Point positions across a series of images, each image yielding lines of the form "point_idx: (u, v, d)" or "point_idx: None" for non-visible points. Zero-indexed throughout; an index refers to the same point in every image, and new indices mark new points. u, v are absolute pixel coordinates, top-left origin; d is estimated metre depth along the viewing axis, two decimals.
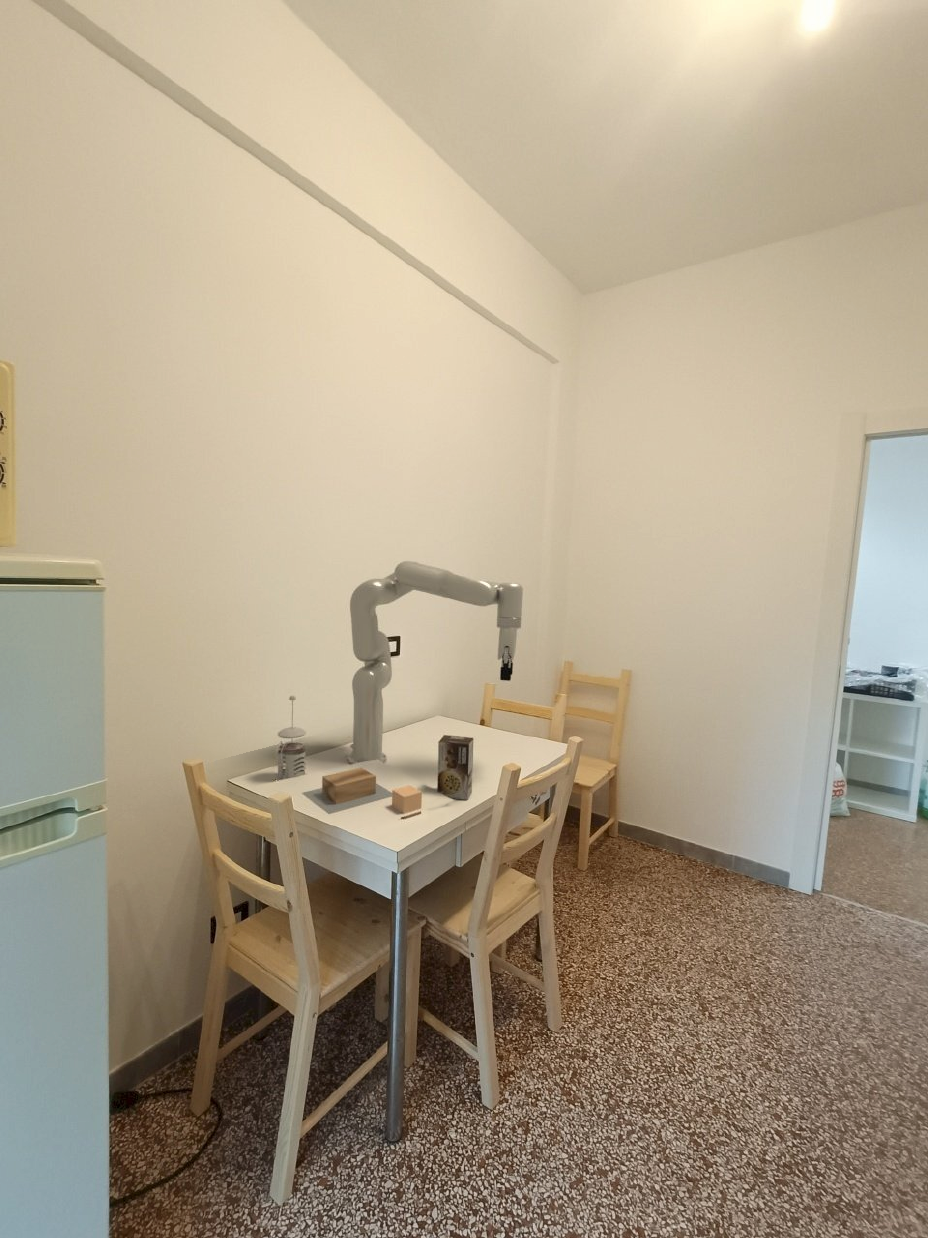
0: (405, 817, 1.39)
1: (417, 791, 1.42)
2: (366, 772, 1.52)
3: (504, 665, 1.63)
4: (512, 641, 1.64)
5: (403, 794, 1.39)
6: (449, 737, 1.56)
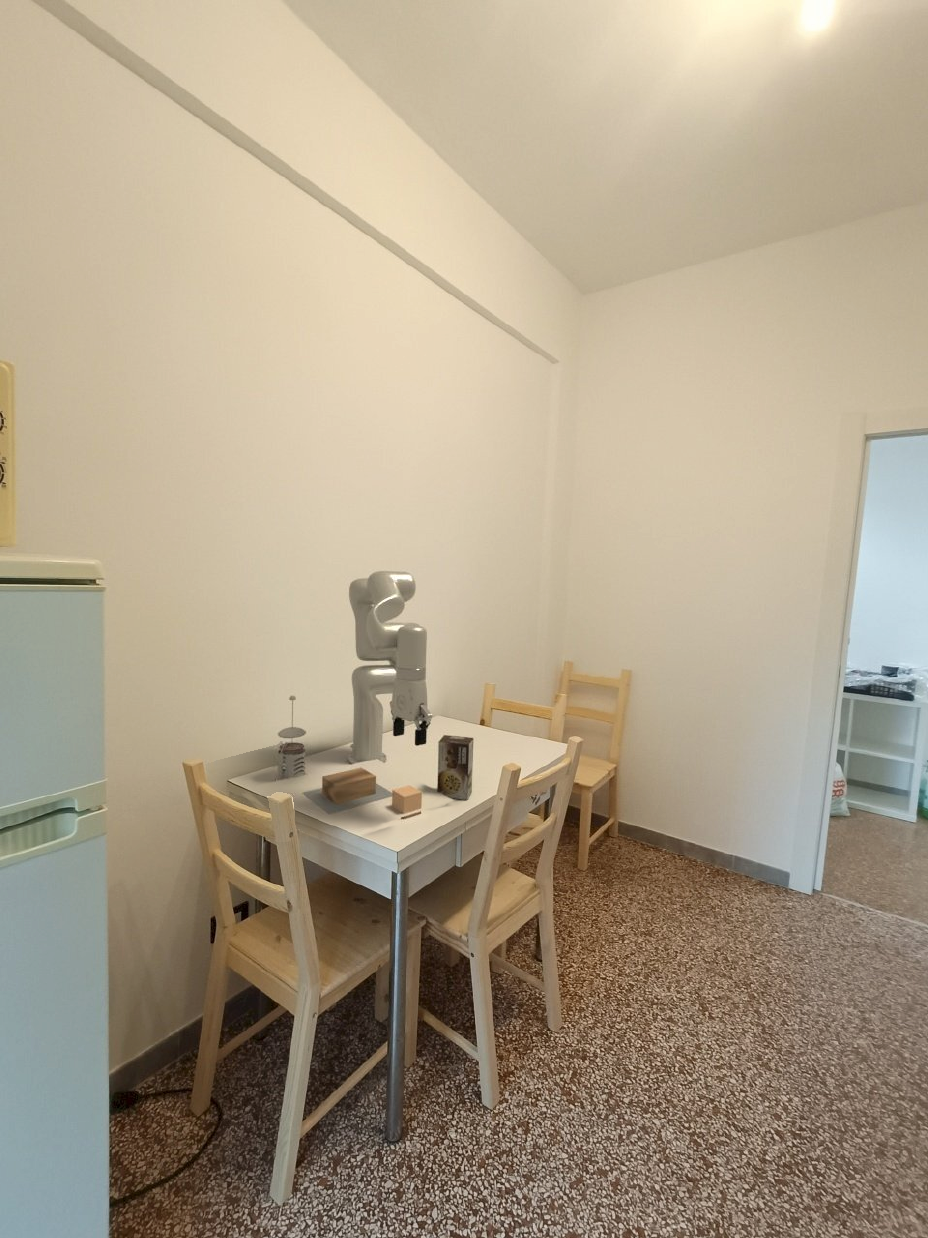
0: (405, 817, 1.39)
1: (417, 791, 1.42)
2: (366, 772, 1.52)
3: (423, 727, 1.35)
4: (426, 696, 1.37)
5: (403, 794, 1.39)
6: (449, 737, 1.56)
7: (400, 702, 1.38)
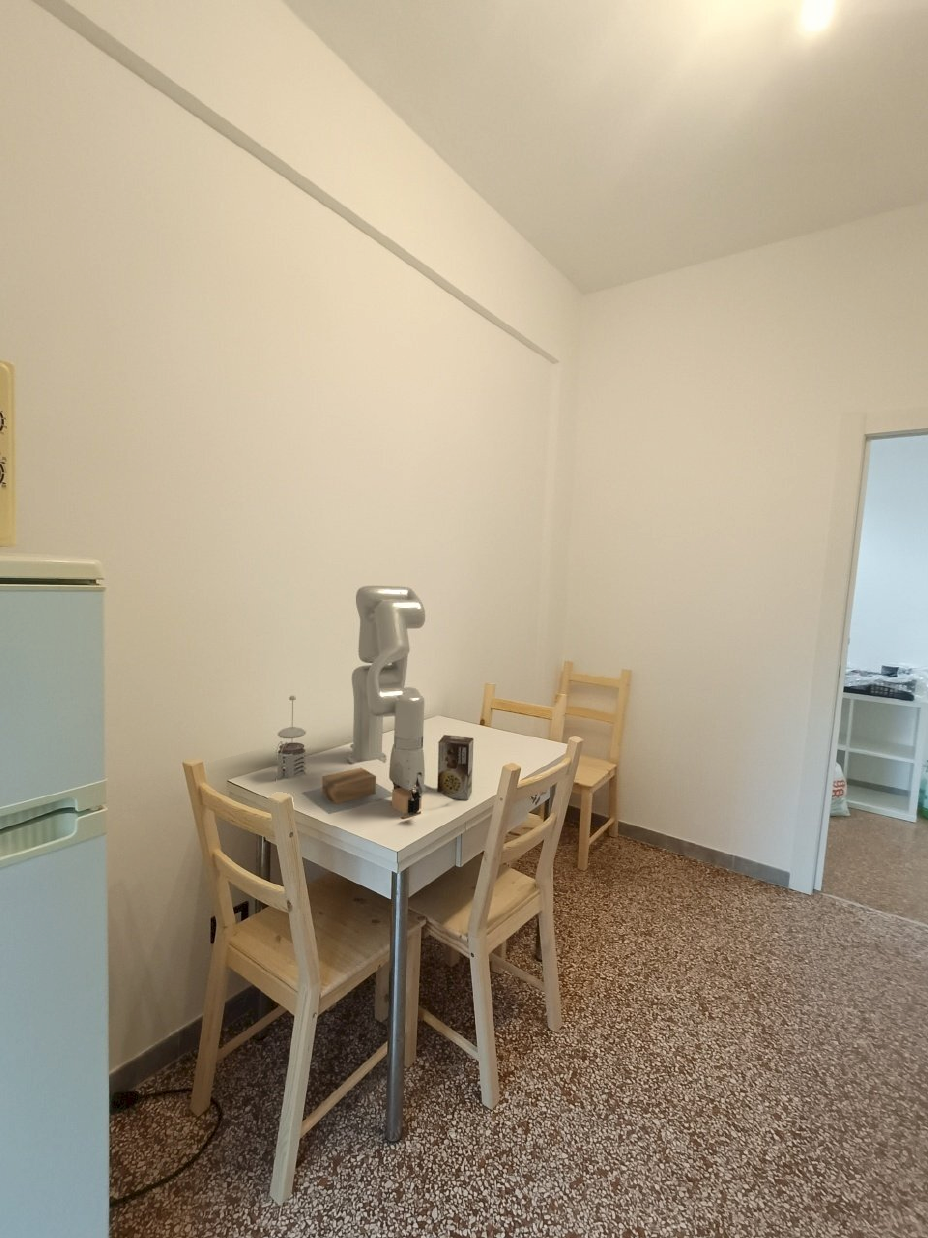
0: (405, 817, 1.39)
1: None
2: (366, 772, 1.52)
3: (416, 798, 1.38)
4: (423, 765, 1.39)
5: (403, 794, 1.39)
6: (449, 737, 1.56)
7: (398, 770, 1.40)
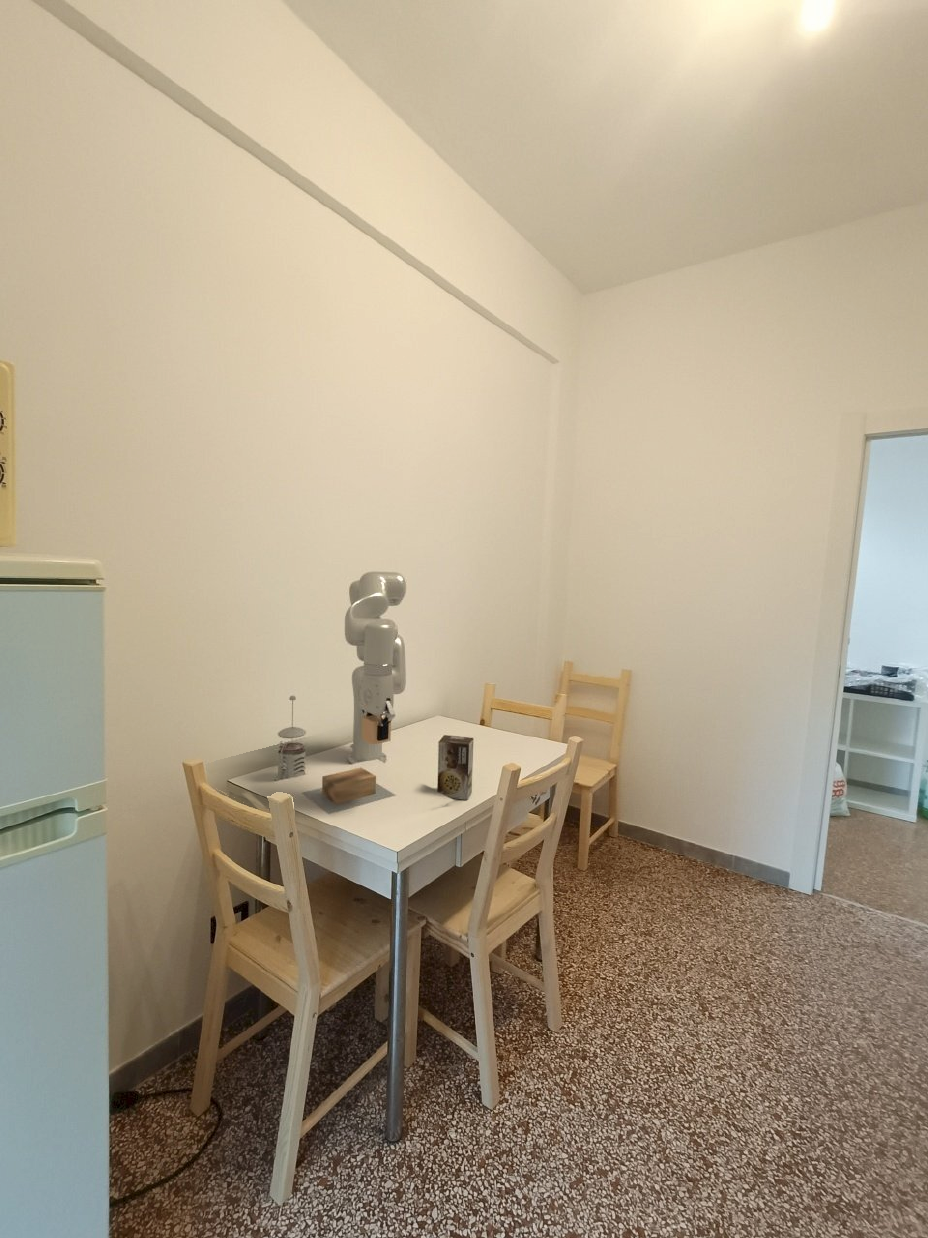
0: (374, 742, 1.41)
1: None
2: (366, 772, 1.52)
3: (385, 723, 1.40)
4: (392, 691, 1.41)
5: (372, 720, 1.42)
6: (449, 737, 1.56)
7: (367, 697, 1.42)
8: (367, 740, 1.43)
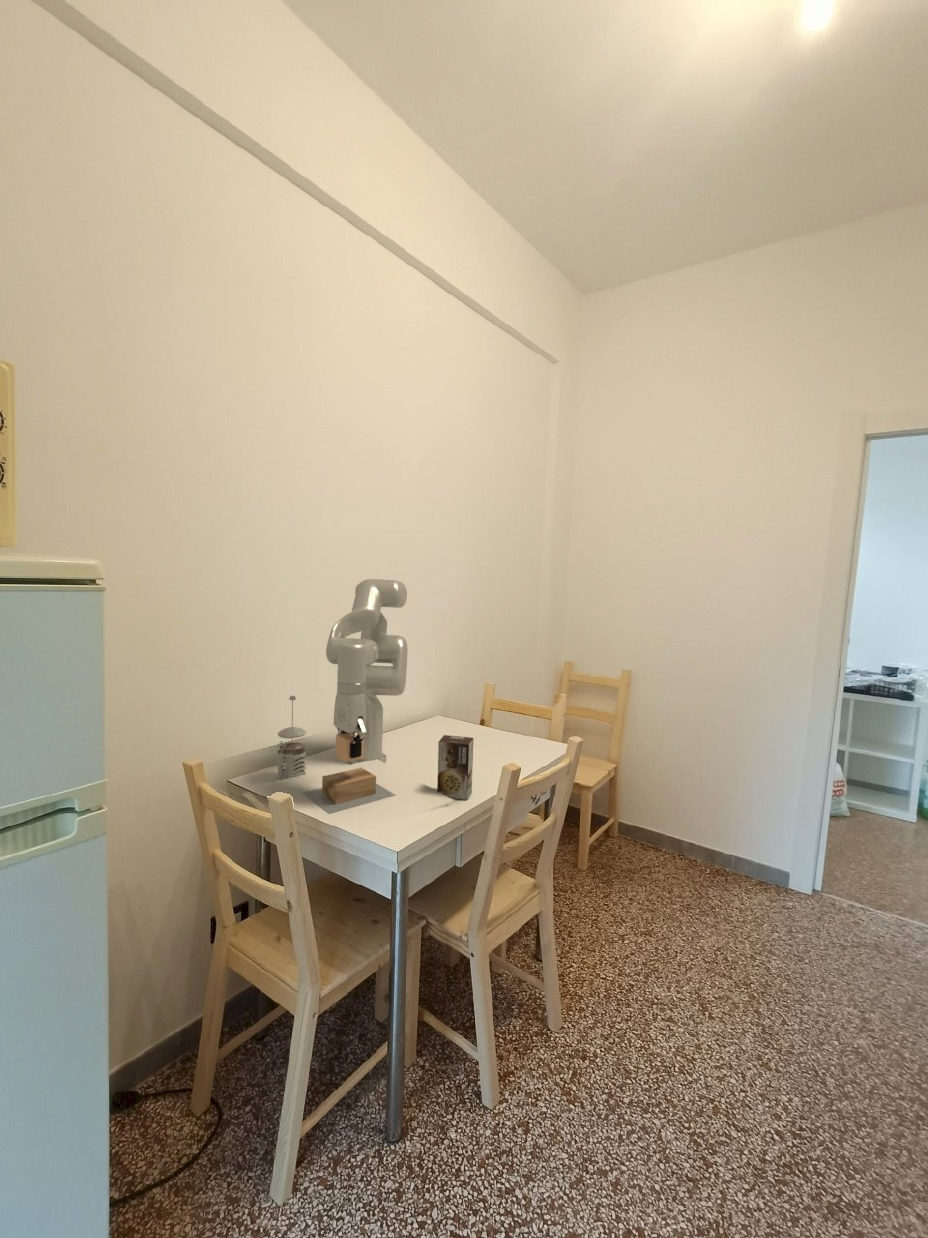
0: (347, 759, 1.44)
1: None
2: (366, 772, 1.52)
3: (358, 741, 1.43)
4: (365, 709, 1.44)
5: (345, 738, 1.45)
6: (449, 737, 1.56)
7: (340, 715, 1.45)
8: (340, 757, 1.46)
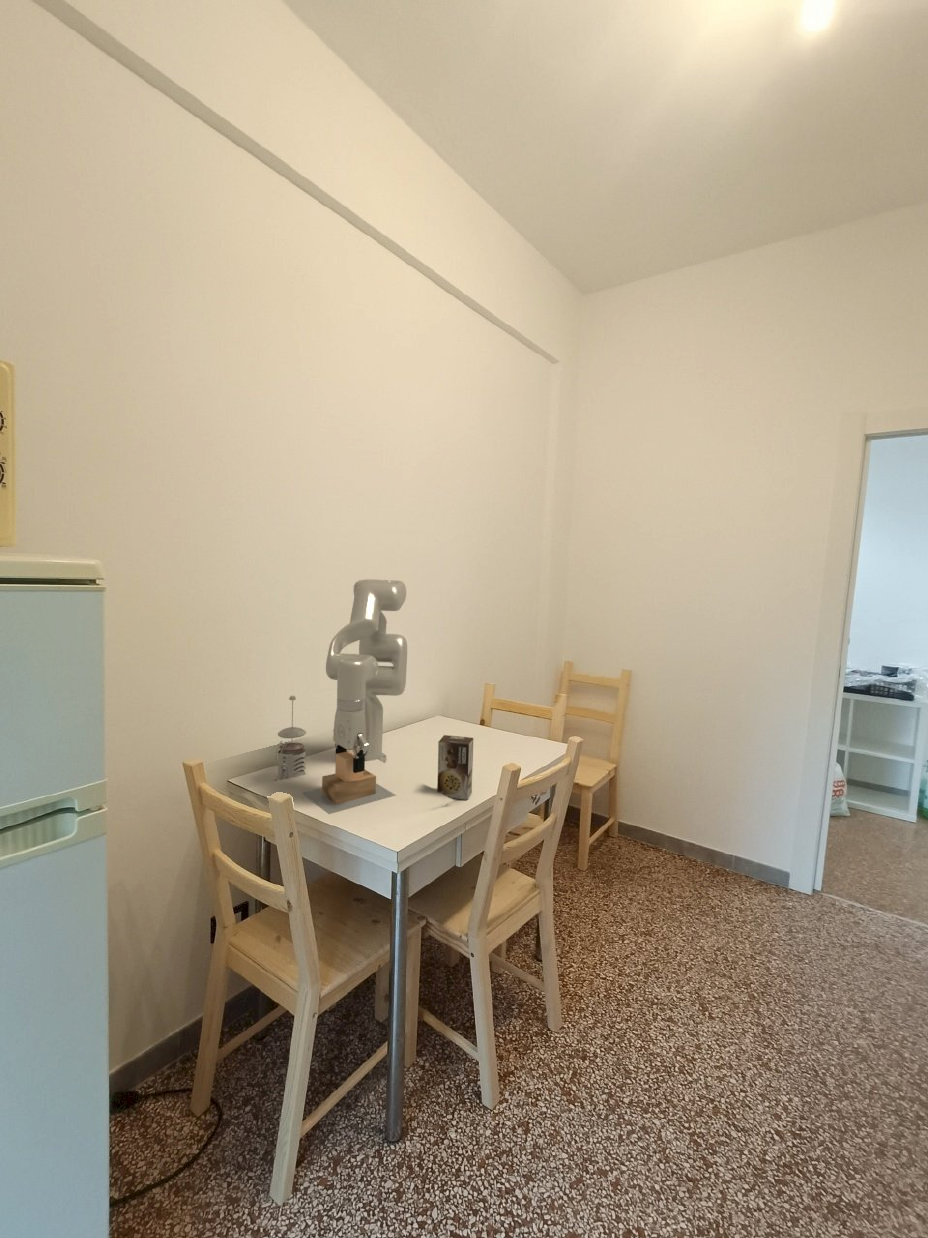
0: (347, 779, 1.45)
1: None
2: (366, 772, 1.52)
3: (361, 756, 1.43)
4: (364, 726, 1.45)
5: (345, 757, 1.46)
6: (449, 737, 1.56)
7: (340, 731, 1.46)
8: (340, 777, 1.47)
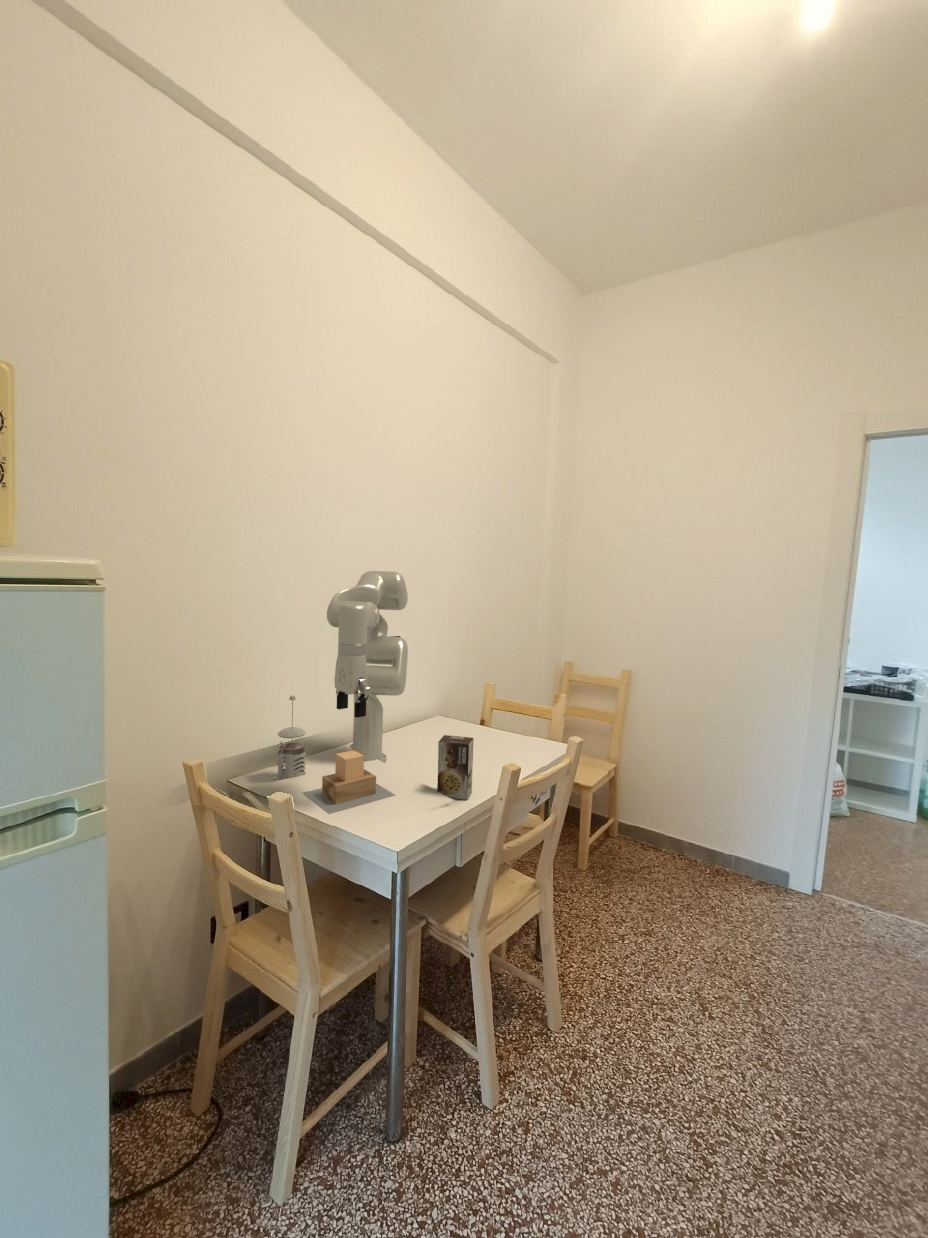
0: (347, 779, 1.45)
1: (359, 755, 1.48)
2: (366, 772, 1.52)
3: (362, 700, 1.41)
4: (366, 671, 1.44)
5: (345, 757, 1.46)
6: (449, 737, 1.56)
7: (341, 676, 1.45)
8: (340, 777, 1.47)
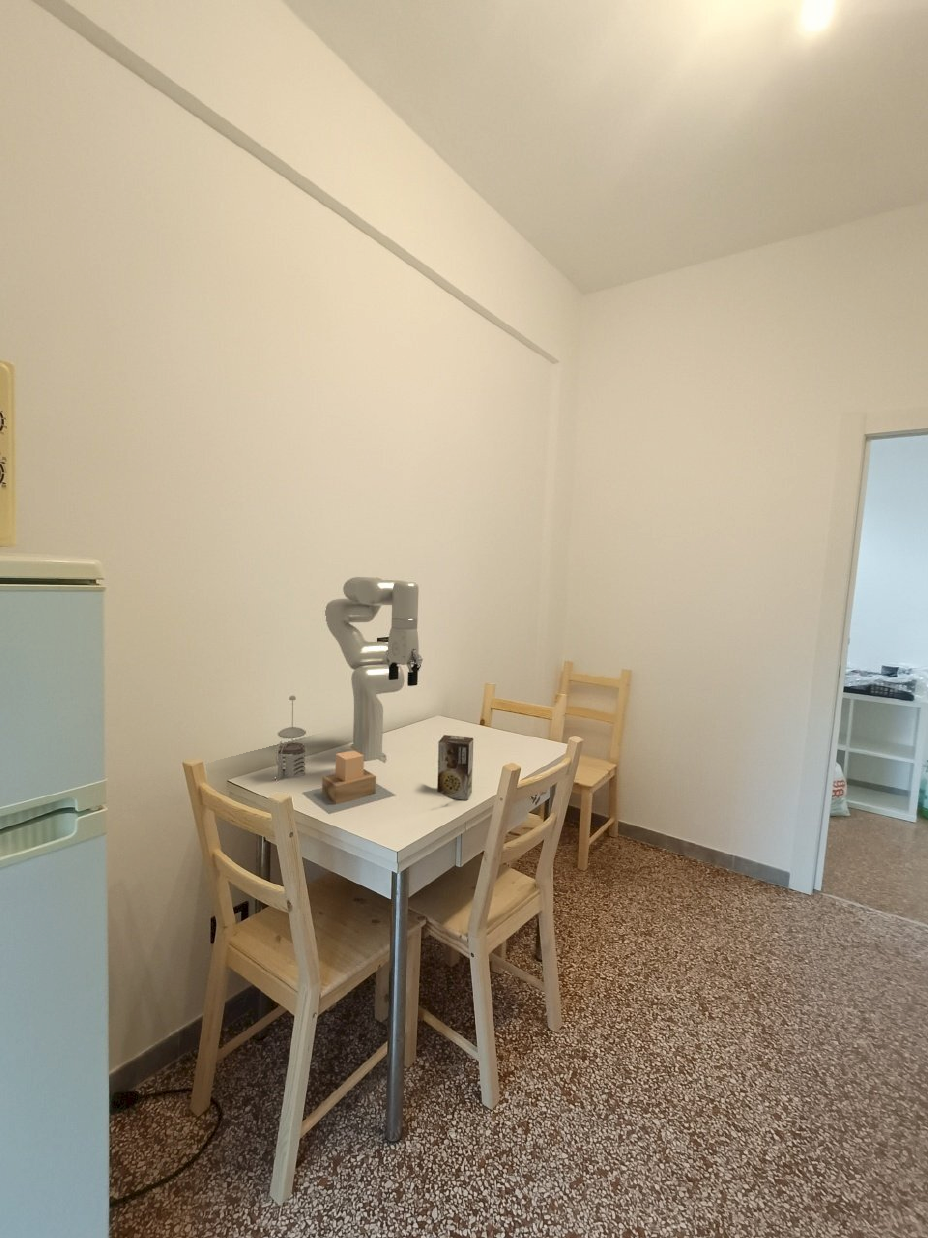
0: (347, 779, 1.45)
1: (359, 755, 1.48)
2: (366, 772, 1.52)
3: (415, 670, 1.54)
4: (417, 643, 1.56)
5: (345, 757, 1.46)
6: (449, 737, 1.56)
7: (395, 648, 1.57)
8: (340, 777, 1.47)
